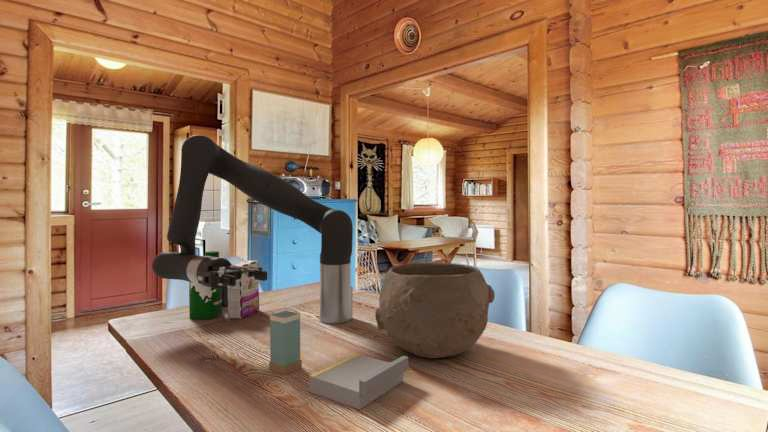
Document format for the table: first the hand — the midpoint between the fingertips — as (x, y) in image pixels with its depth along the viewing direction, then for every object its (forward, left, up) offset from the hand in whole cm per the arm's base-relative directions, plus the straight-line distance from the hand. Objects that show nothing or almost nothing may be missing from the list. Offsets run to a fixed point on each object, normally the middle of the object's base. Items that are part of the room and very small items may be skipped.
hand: (251, 278), depth 95 cm
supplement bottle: (-24, -49, -18) cm, 57 cm away
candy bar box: (-22, -33, -18) cm, 44 cm away
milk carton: (-14, -41, -18) cm, 47 cm away
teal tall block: (0, +11, -18) cm, 21 cm away
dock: (-2, +29, -18) cm, 34 cm away
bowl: (-27, +32, -18) cm, 46 cm away
